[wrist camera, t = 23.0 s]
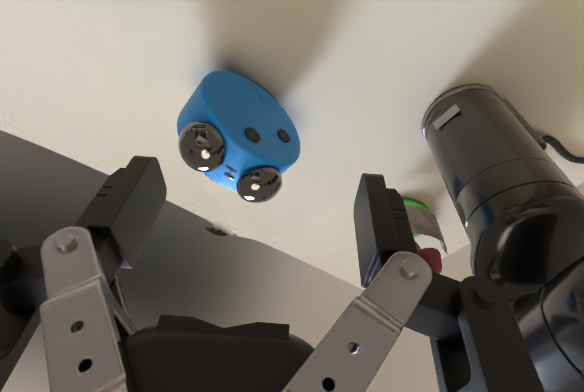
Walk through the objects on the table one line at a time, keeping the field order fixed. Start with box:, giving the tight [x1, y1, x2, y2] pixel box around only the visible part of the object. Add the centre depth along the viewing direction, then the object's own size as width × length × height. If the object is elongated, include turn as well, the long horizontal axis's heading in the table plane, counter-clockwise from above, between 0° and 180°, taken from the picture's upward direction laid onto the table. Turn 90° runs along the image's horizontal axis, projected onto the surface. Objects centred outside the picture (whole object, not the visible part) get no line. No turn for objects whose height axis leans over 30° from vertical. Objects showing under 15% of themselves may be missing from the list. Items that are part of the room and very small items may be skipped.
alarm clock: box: [177, 71, 300, 203], centre depth 36 cm, size 13×6×15 cm, turn 49°
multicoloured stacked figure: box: [403, 199, 447, 274], centre depth 50 cm, size 12×13×15 cm
